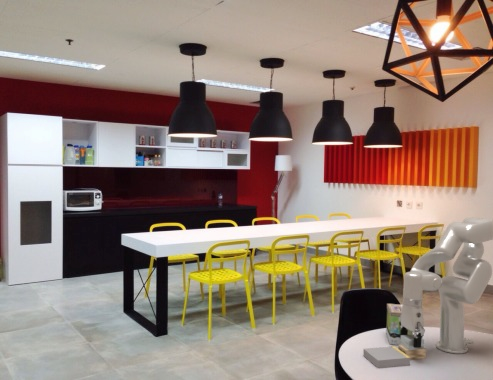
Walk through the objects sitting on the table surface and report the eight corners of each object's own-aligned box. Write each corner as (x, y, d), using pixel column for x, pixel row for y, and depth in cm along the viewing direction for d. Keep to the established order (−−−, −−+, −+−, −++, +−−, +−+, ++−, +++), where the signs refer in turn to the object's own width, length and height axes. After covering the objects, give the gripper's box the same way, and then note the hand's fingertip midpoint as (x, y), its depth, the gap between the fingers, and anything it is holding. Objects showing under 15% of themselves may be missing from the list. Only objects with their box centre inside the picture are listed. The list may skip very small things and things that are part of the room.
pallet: (417, 352, 188) (417, 334, 188) (425, 358, 182) (426, 339, 182) (398, 354, 186) (398, 335, 186) (406, 359, 180) (406, 340, 180)
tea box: (413, 346, 195) (413, 313, 194) (389, 344, 197) (390, 312, 196) (407, 334, 209) (408, 304, 209) (385, 333, 211) (386, 302, 211)
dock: (393, 353, 187) (393, 346, 187) (410, 365, 175) (410, 357, 175) (363, 355, 184) (363, 348, 184) (377, 368, 172) (378, 360, 172)
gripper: (433, 308, 176) (431, 350, 176) (408, 296, 193) (406, 335, 193) (416, 308, 174) (414, 351, 174) (392, 296, 191) (391, 336, 191)
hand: (410, 343), depth 184 cm, fingers open, 9 cm apart
